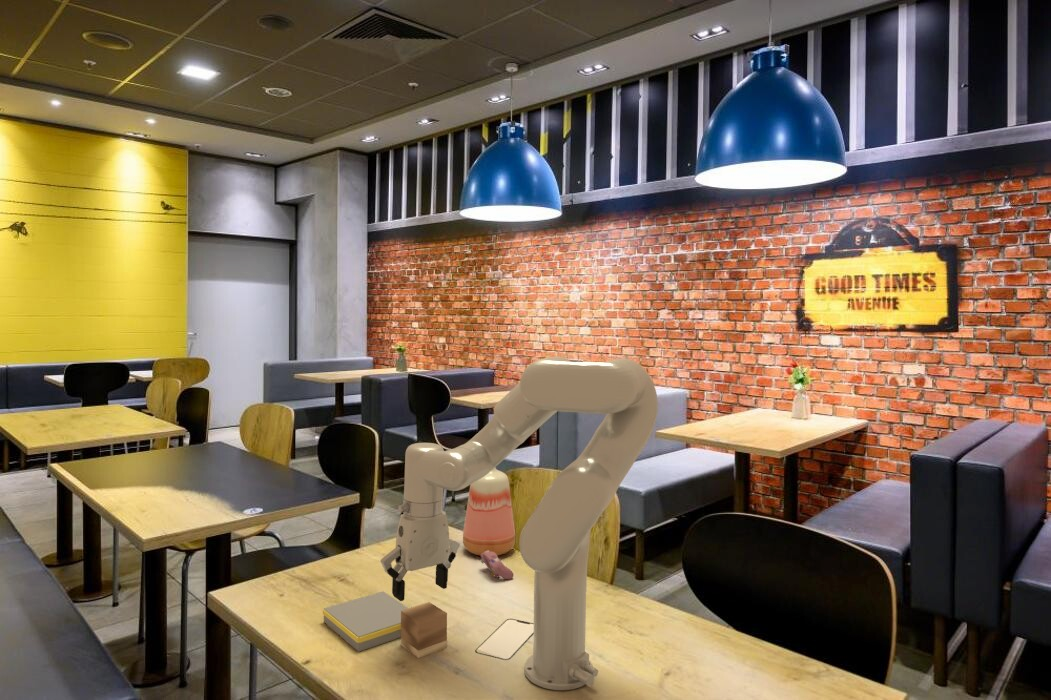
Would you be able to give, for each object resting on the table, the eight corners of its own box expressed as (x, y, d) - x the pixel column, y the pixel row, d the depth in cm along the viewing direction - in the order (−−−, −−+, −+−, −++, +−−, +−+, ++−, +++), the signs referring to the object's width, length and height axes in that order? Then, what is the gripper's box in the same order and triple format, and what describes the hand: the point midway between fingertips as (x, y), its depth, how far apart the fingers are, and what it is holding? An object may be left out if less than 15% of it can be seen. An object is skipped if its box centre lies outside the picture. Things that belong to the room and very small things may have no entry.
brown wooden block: (446, 647, 134) (447, 612, 134) (418, 658, 130) (418, 622, 129) (429, 635, 139) (429, 601, 138) (400, 645, 135) (401, 610, 134)
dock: (421, 630, 141) (421, 616, 140) (358, 652, 131) (358, 637, 131) (383, 604, 153) (383, 591, 153) (322, 622, 144) (322, 608, 144)
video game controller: (485, 573, 175) (474, 551, 174) (500, 563, 177) (489, 541, 175) (500, 588, 166) (489, 565, 165) (516, 577, 168) (504, 554, 166)
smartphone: (508, 663, 129) (541, 627, 144) (508, 661, 129) (541, 624, 144) (472, 654, 132) (507, 619, 147) (472, 652, 132) (507, 617, 147)
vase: (482, 539, 197) (483, 437, 195) (524, 548, 190) (526, 443, 188) (452, 554, 185) (452, 446, 183) (496, 564, 177) (497, 452, 176)
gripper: (393, 520, 124) (390, 610, 125) (470, 504, 135) (467, 588, 137) (373, 509, 130) (371, 596, 131) (449, 495, 141) (446, 576, 142)
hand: (420, 592), depth 134 cm, fingers open, 9 cm apart
